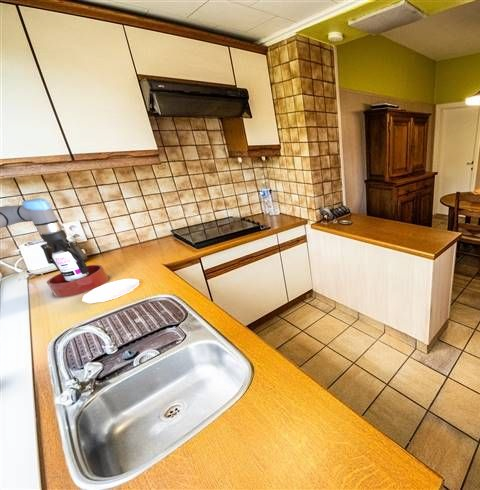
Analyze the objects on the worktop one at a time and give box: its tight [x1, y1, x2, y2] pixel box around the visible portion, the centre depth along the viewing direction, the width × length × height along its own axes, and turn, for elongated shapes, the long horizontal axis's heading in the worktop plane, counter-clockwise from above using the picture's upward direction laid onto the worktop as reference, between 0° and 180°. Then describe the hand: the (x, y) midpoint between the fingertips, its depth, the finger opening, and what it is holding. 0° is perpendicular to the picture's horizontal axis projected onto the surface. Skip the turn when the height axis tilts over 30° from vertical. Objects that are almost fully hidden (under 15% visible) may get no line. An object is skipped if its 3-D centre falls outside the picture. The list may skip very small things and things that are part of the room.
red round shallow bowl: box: [46, 264, 109, 298], centre depth 135 cm, size 20×20×7 cm
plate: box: [81, 278, 140, 304], centre depth 128 cm, size 21×21×2 cm
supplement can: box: [52, 250, 89, 281], centre depth 131 cm, size 8×8×15 cm
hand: (75, 273), depth 133 cm, fingers closed on supplement can, 8 cm apart
